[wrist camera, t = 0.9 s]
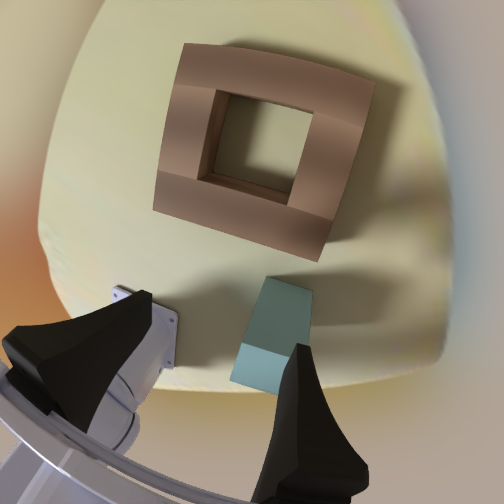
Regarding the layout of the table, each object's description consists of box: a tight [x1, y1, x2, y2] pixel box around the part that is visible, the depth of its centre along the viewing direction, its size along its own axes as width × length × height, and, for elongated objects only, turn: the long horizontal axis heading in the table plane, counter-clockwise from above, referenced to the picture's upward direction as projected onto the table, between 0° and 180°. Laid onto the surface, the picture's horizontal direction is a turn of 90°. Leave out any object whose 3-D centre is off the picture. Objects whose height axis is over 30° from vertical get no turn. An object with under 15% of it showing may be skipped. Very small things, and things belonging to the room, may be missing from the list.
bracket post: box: [230, 276, 313, 395], centre depth 20 cm, size 4×4×8 cm
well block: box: [153, 43, 376, 263], centre depth 17 cm, size 12×12×3 cm
